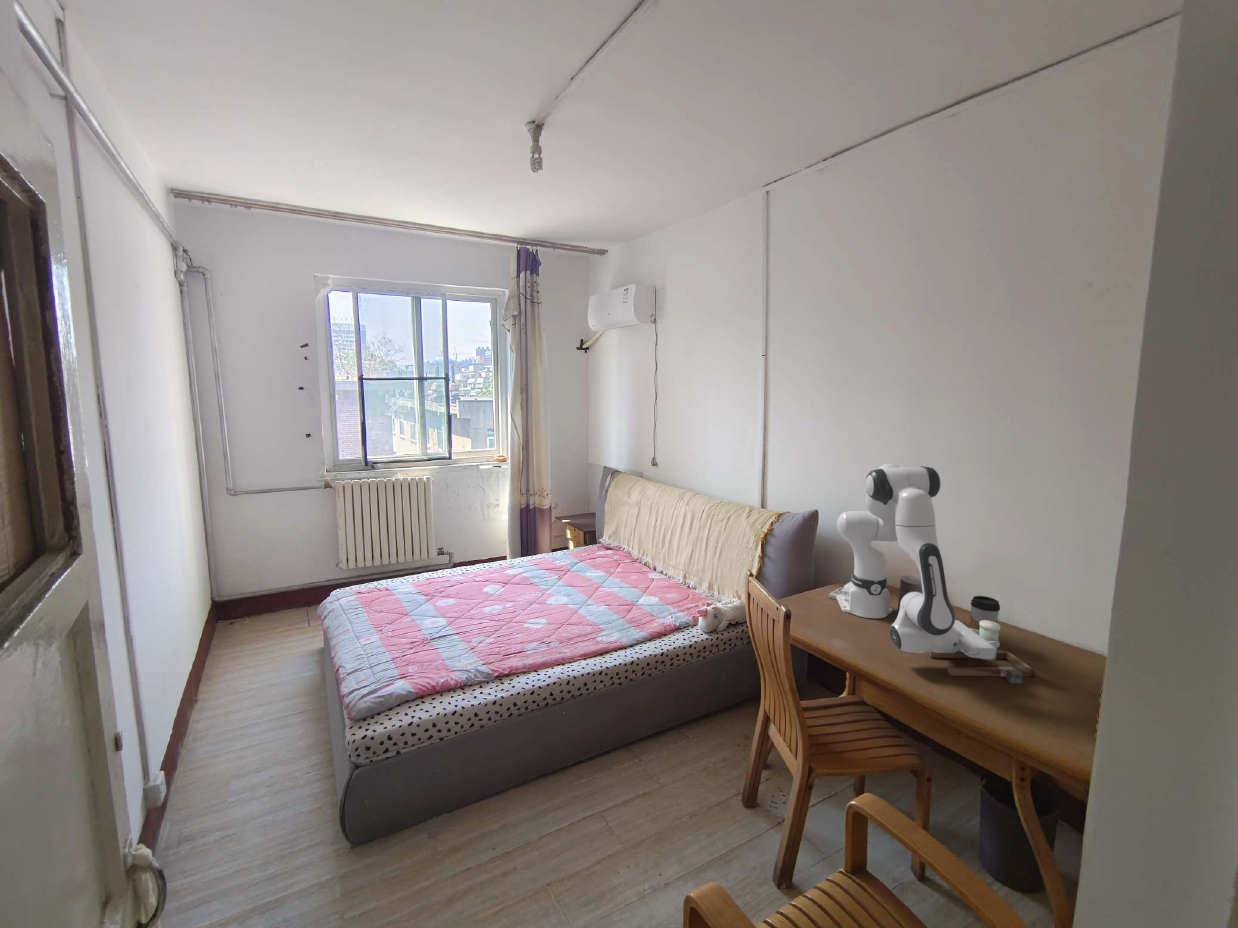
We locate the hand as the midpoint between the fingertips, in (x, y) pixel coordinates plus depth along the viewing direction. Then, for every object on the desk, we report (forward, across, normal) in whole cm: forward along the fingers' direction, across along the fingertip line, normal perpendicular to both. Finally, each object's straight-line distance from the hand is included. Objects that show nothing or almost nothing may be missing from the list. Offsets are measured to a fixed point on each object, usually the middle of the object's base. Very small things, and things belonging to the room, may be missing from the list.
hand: (991, 638), depth 175 cm
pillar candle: (-4, +39, +9) cm, 40 cm away
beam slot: (-3, -2, +9) cm, 10 cm away
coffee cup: (+8, +16, +9) cm, 20 cm away
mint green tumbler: (-1, 0, +6) cm, 6 cm away
